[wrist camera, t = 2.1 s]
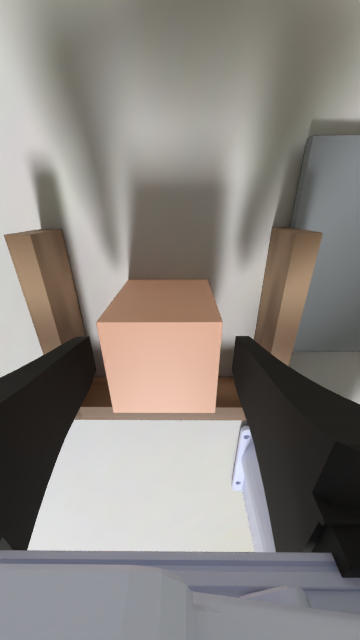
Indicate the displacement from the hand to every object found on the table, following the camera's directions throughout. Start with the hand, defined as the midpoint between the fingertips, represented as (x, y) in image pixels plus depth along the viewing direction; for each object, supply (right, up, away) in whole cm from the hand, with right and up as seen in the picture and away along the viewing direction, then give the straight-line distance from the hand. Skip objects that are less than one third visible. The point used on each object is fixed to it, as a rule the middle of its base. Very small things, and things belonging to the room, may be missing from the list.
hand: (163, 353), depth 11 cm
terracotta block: (0, +2, +4) cm, 5 cm away
